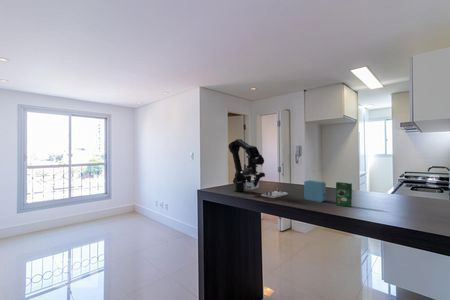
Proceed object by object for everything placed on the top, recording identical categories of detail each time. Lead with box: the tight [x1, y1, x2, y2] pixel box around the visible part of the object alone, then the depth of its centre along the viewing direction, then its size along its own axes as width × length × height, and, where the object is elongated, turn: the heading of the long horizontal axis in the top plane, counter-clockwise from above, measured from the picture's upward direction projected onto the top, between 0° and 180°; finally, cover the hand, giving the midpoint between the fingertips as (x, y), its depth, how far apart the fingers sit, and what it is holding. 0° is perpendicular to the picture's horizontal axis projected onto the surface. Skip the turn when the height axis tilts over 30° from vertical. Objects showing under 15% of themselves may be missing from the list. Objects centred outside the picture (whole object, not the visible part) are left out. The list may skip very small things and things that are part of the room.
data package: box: [303, 179, 327, 203], centre depth 141 cm, size 12×4×12 cm, turn 42°
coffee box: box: [335, 181, 353, 208], centre depth 126 cm, size 8×3×13 cm, turn 54°
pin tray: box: [261, 188, 289, 199], centre depth 158 cm, size 10×17×3 cm, turn 131°
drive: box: [245, 180, 260, 190], centre depth 158 cm, size 5×10×5 cm, turn 143°
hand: (252, 186), depth 159 cm, fingers closed on drive, 5 cm apart
